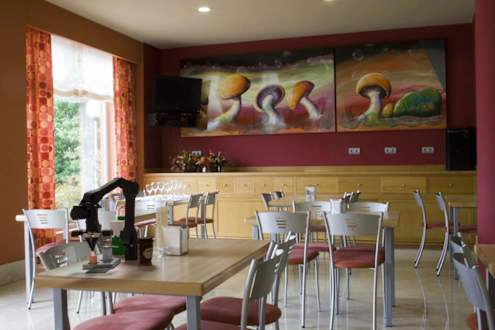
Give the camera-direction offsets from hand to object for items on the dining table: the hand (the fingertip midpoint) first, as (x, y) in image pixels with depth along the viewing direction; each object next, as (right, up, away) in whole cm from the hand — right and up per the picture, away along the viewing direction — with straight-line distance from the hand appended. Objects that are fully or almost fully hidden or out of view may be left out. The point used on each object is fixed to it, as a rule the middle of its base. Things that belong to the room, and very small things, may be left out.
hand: (92, 251), depth 257 cm
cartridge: (+5, -7, +8) cm, 12 cm away
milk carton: (+4, -8, +39) cm, 39 cm away
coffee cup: (+24, -7, +4) cm, 26 cm away
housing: (+3, -8, +5) cm, 9 cm away
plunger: (0, -6, 0) cm, 6 cm away
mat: (+5, -8, -9) cm, 13 cm away
